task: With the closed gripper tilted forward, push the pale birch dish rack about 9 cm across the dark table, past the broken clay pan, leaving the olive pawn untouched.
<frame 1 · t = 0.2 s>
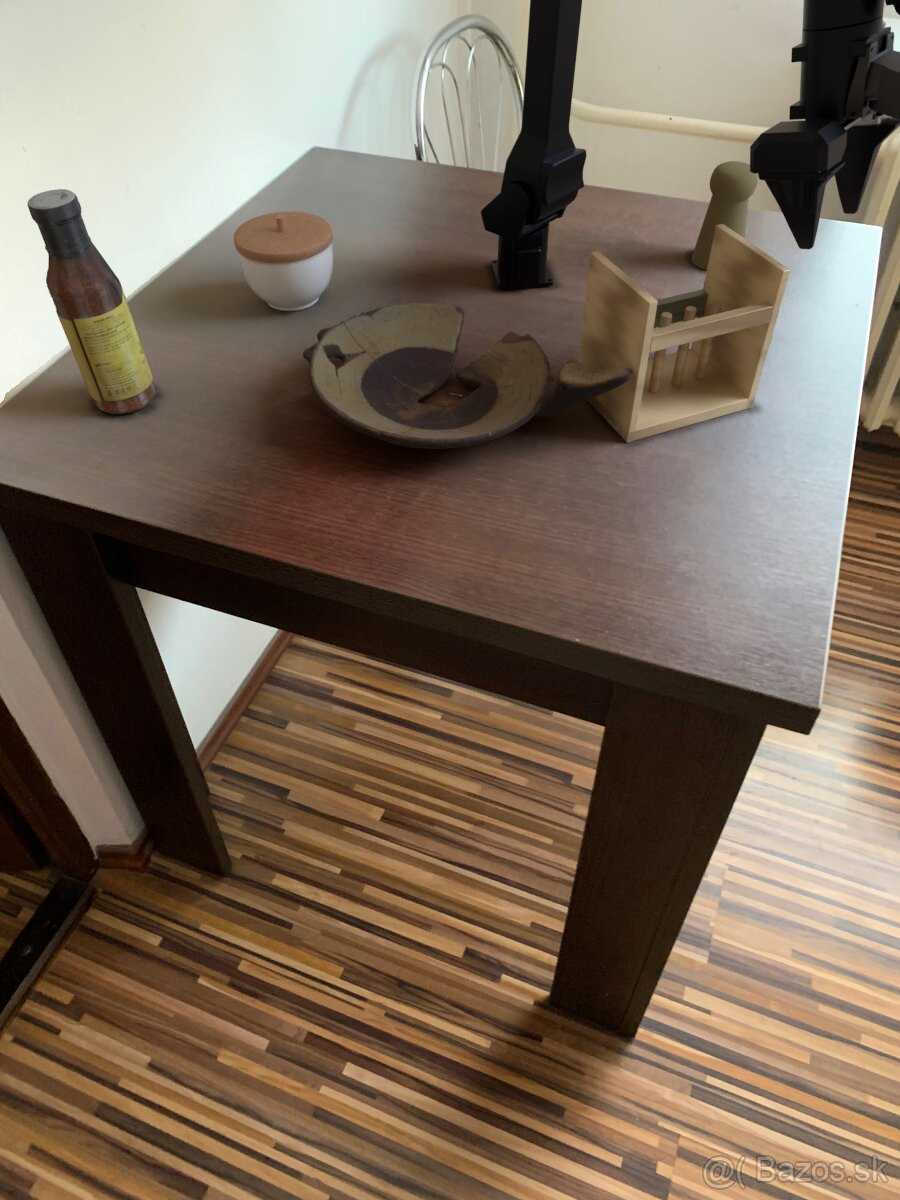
hand: (829, 230, 77), 15 cm above the table, tool pointing down, fingers open, 9 cm apart
trinket box: (293, 299, 102), on the table
olive pawn: (716, 261, 107), on the table
sauce bottle: (125, 401, 88), on the table
rack: (662, 397, 87), on the table
broken clay pan: (452, 418, 86), on the table
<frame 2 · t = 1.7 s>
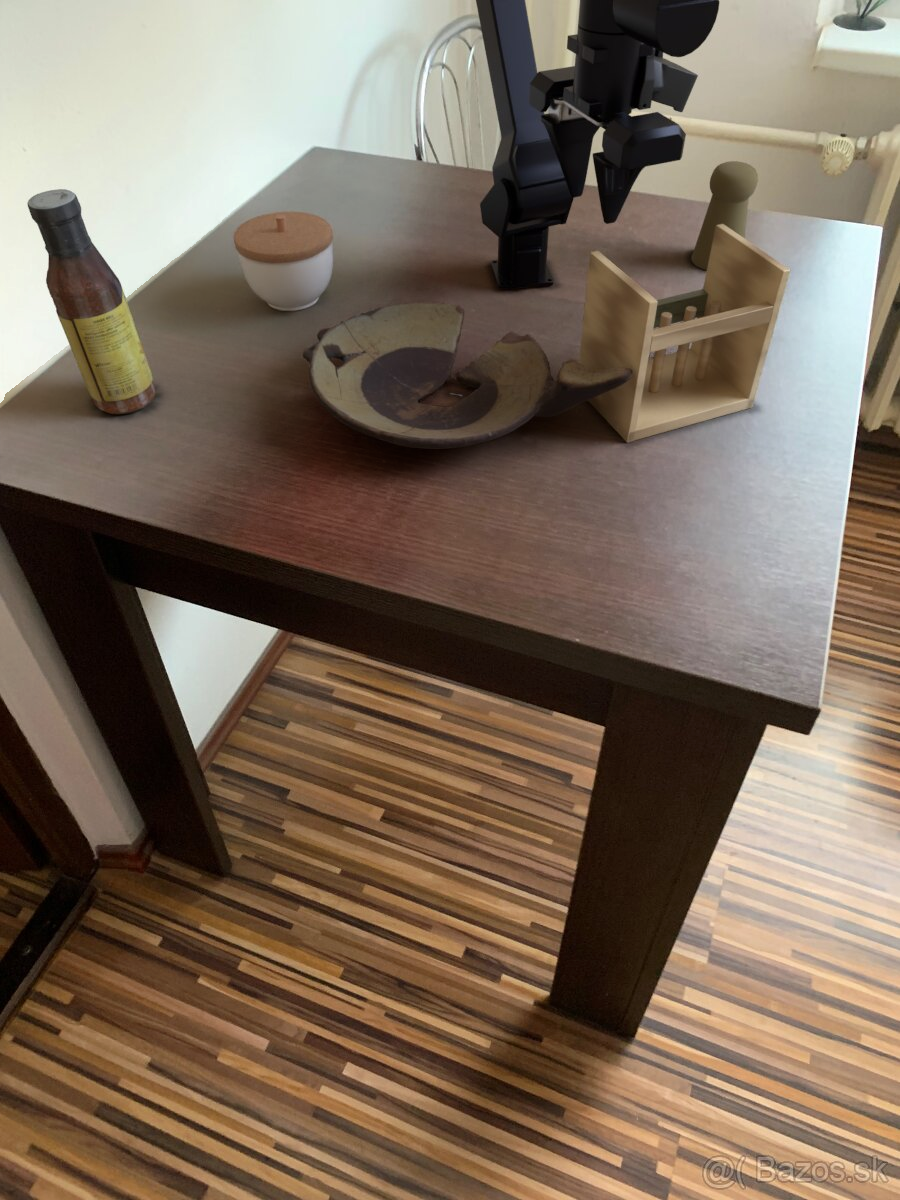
hand: (592, 209, 87), 13 cm above the table, tool pointing down, fingers open, 6 cm apart
nothing on the table moved.
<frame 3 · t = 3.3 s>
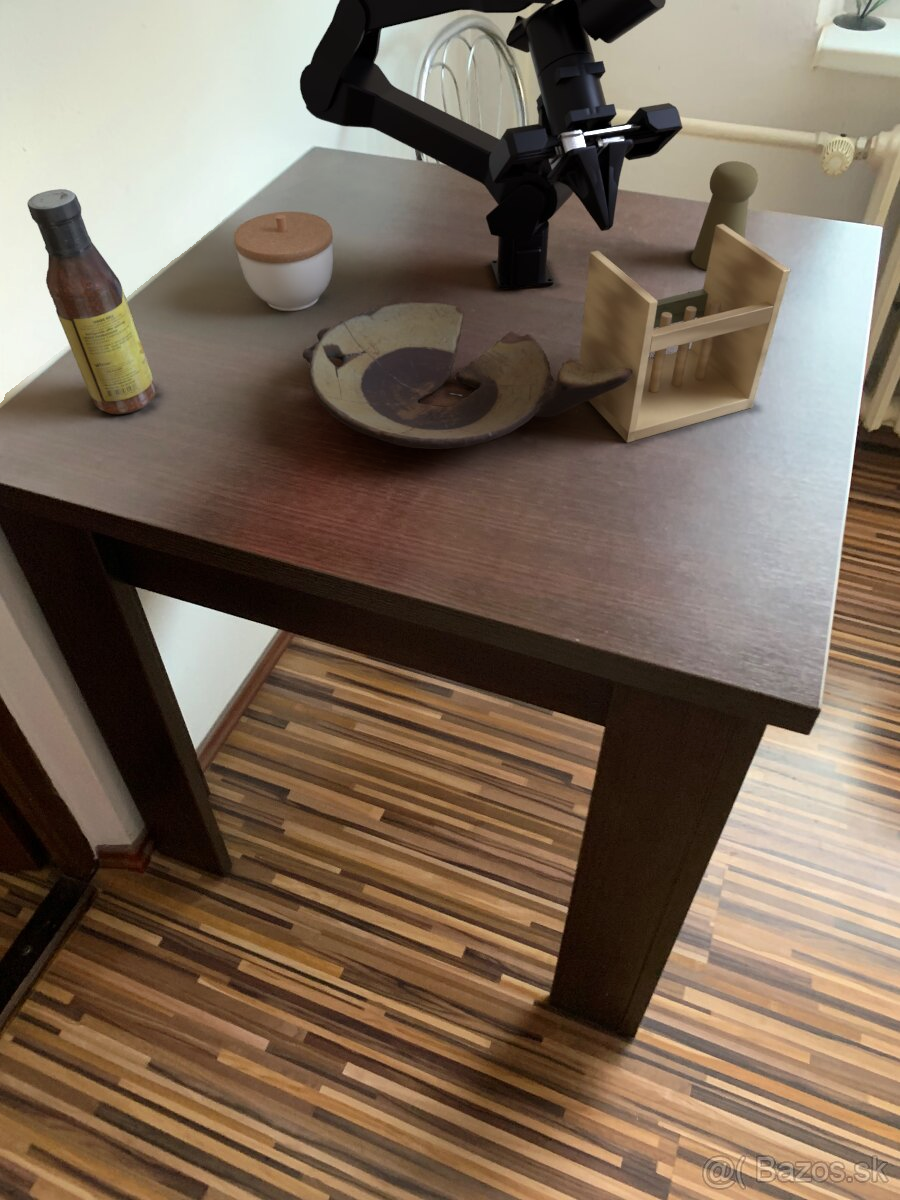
hand: (607, 228, 87), 11 cm above the table, tool tilted 45°, fingers closed
nothing on the table moved.
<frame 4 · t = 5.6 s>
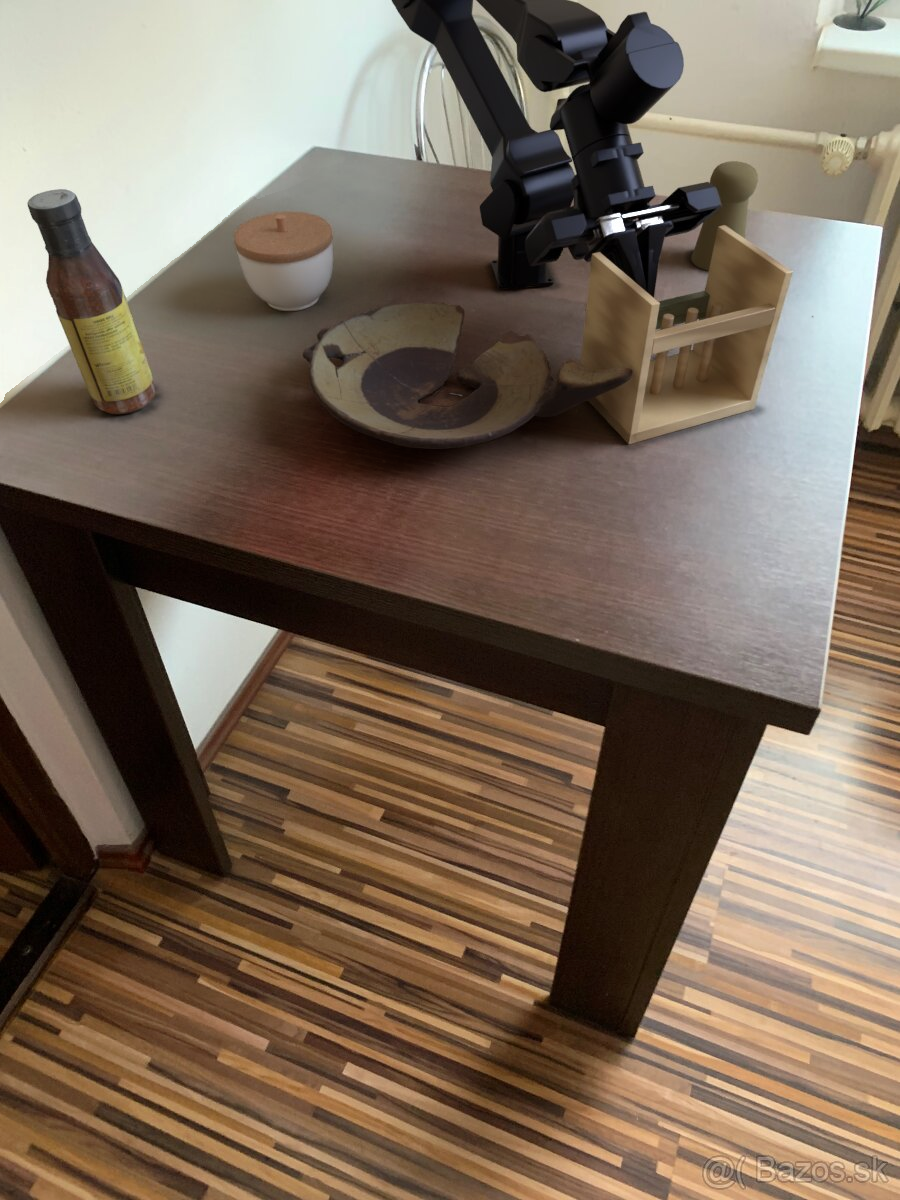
hand: (646, 310, 85), 7 cm above the table, tool tilted 45°, fingers closed, pressing on rack
rack: (664, 399, 87), on the table, touching gripper
everything else where it was.
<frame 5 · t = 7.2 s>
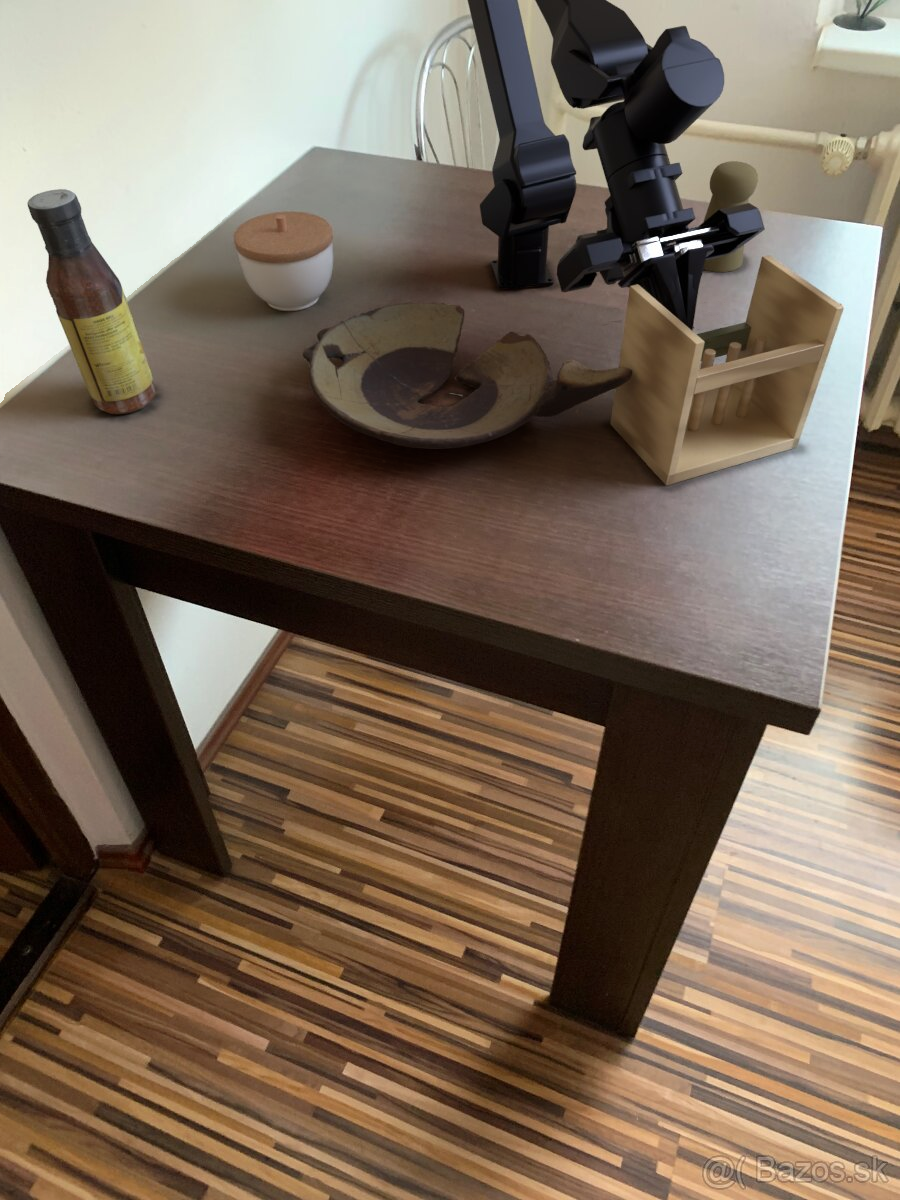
hand: (685, 338, 81), 7 cm above the table, tool tilted 45°, fingers closed, pressing on rack
rack: (702, 435, 83), on the table, touching gripper
everything else where it was.
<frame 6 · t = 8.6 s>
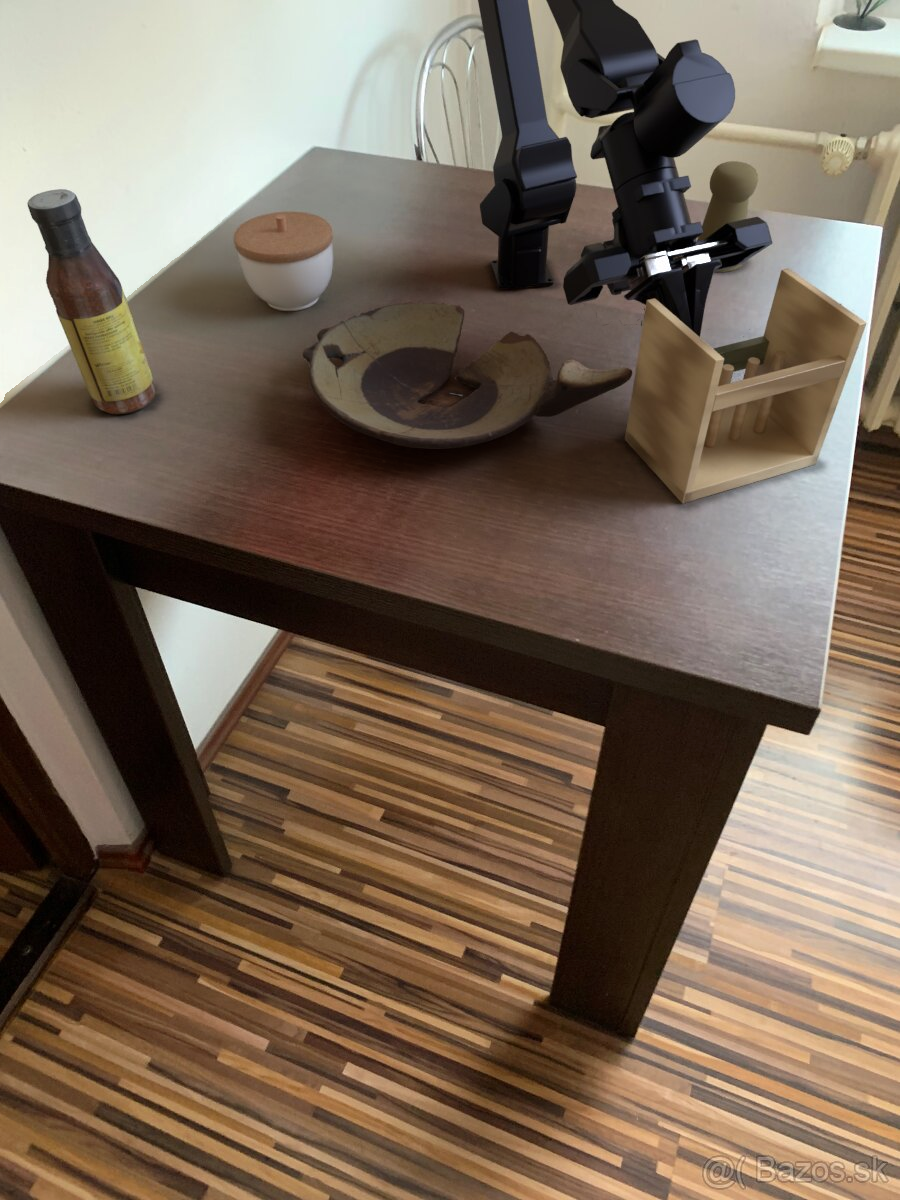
hand: (691, 353, 81), 7 cm above the table, tool tilted 45°, fingers closed
rack: (718, 451, 81), on the table
everything else where it was.
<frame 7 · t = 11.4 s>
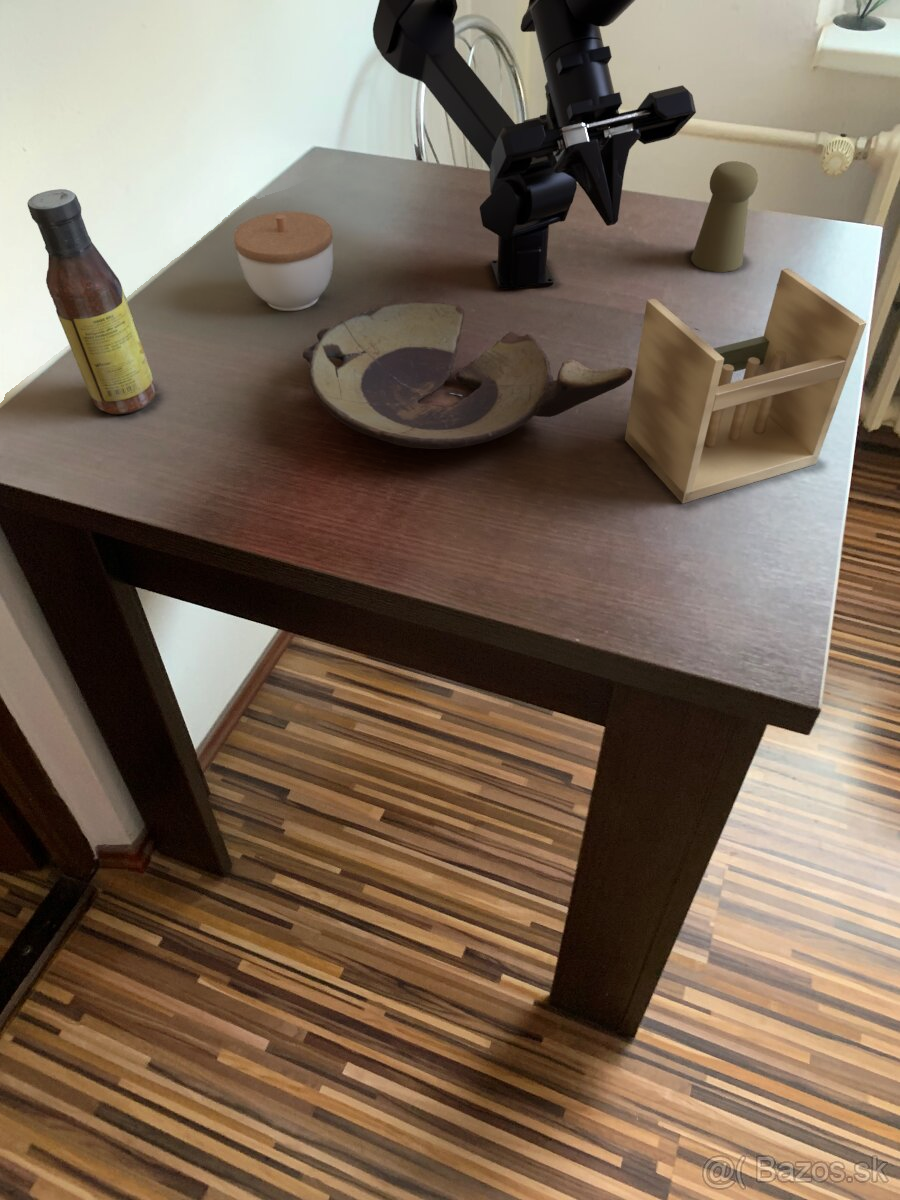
hand: (612, 223, 85), 13 cm above the table, tool tilted 40°, fingers closed
nothing on the table moved.
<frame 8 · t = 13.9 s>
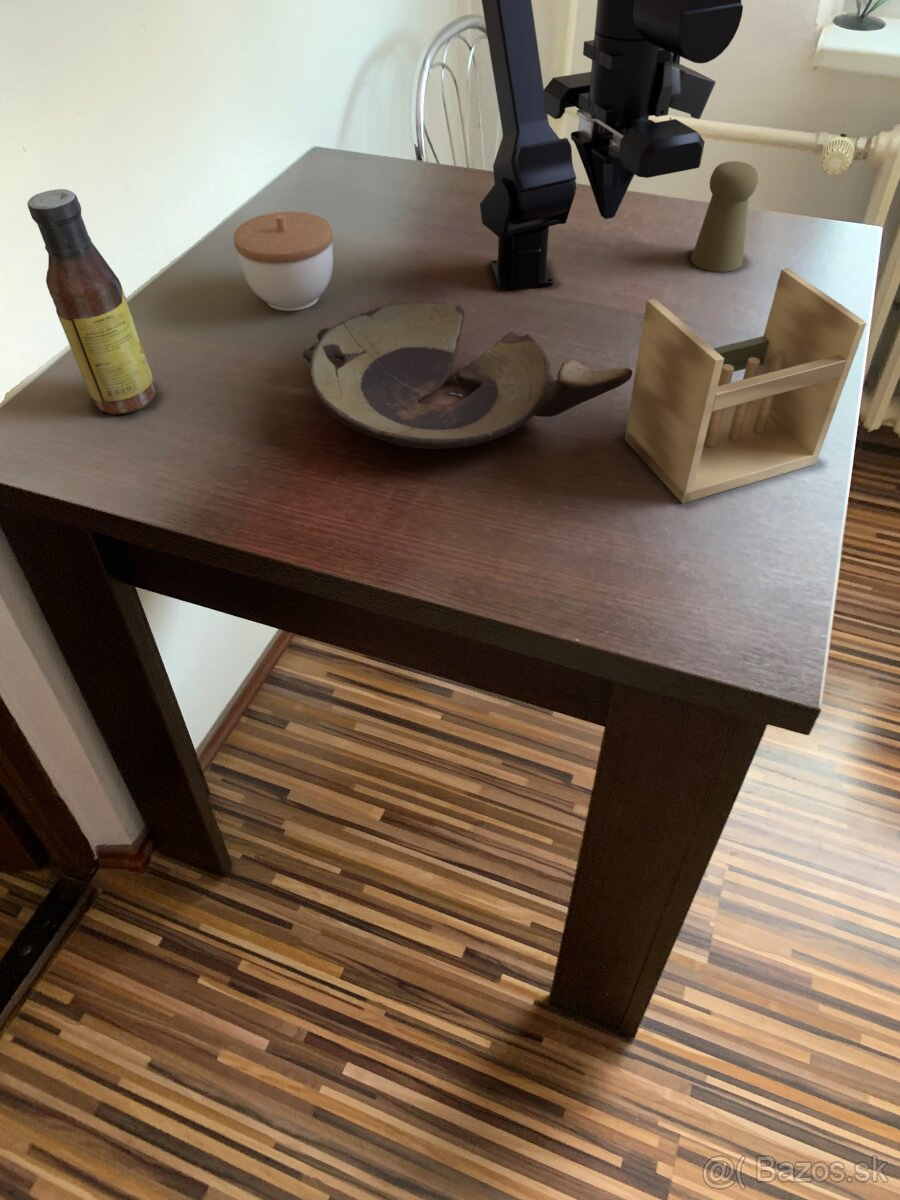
hand: (607, 217, 85), 13 cm above the table, tool pointing down, fingers closed
nothing on the table moved.
at the end: rack inside the target area (0.2 cm from its centre), on the table; rack tilted 0°; olive pawn moved 0.2 cm from its start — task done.
